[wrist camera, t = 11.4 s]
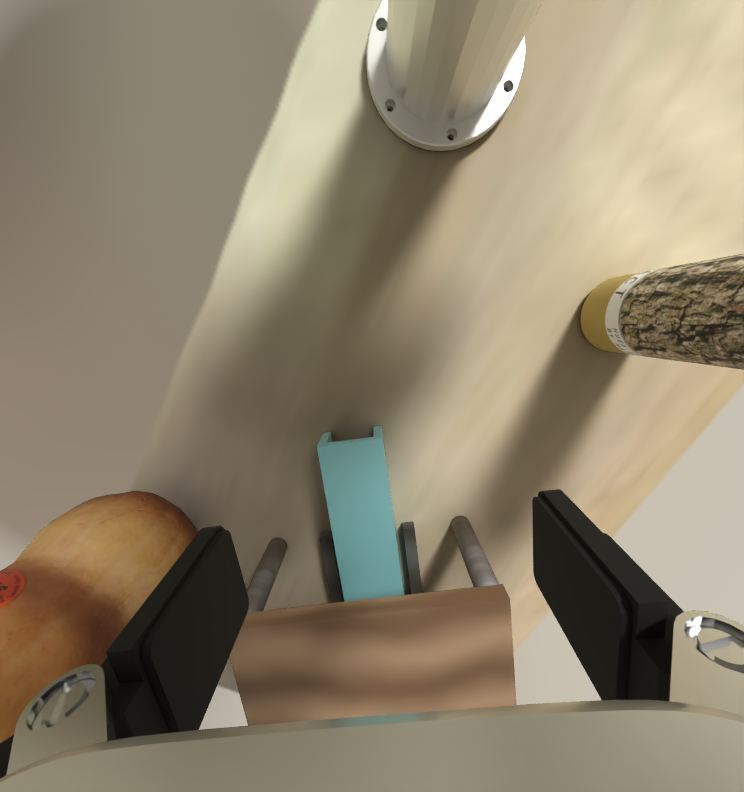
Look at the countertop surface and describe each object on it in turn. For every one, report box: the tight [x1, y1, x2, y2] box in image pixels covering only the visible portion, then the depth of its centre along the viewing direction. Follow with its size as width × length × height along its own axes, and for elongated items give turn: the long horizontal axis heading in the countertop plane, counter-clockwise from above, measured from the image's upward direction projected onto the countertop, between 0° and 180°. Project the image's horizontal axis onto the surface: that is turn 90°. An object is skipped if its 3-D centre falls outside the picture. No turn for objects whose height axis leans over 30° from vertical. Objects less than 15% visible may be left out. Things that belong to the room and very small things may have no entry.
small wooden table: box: [230, 516, 516, 726], centre depth 33 cm, size 13×22×12 cm, turn 98°
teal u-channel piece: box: [317, 426, 405, 602], centre depth 36 cm, size 22×6×4 cm, turn 8°
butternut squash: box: [0, 491, 198, 743], centre depth 26 cm, size 14×13×25 cm
